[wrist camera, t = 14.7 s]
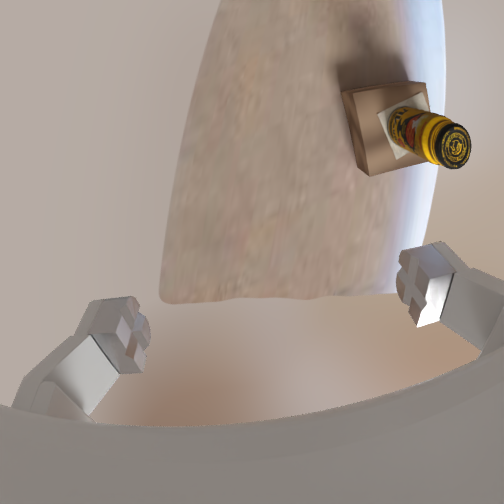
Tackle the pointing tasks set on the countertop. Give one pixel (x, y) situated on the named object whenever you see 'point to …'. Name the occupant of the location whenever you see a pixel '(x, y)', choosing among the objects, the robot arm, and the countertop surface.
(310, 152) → the countertop surface
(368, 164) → the walnut block
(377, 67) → the countertop surface
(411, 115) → the condiment
